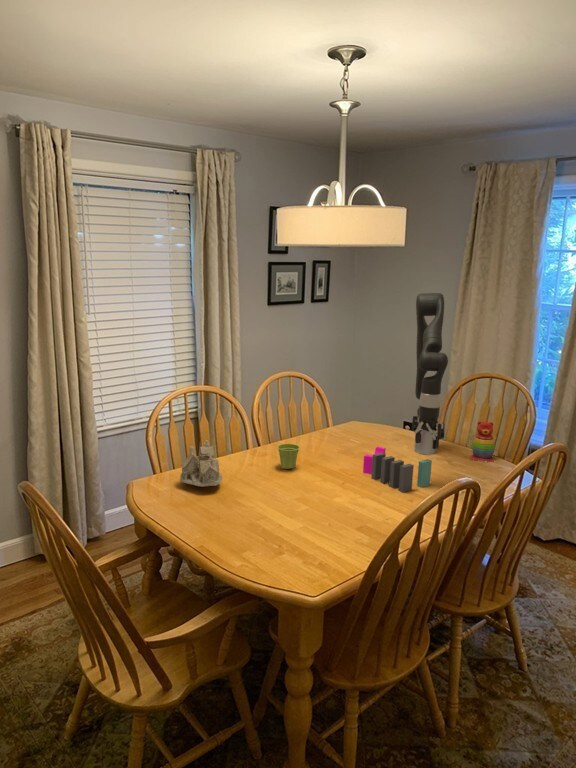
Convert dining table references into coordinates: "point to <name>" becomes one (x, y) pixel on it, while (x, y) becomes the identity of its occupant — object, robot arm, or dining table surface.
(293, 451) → the plant pot
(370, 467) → the toy block
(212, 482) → the ceramic cottage
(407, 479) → the domino
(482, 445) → the stacking bear
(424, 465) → the domino
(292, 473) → the dining table surface
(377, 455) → the domino
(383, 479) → the domino
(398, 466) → the domino
